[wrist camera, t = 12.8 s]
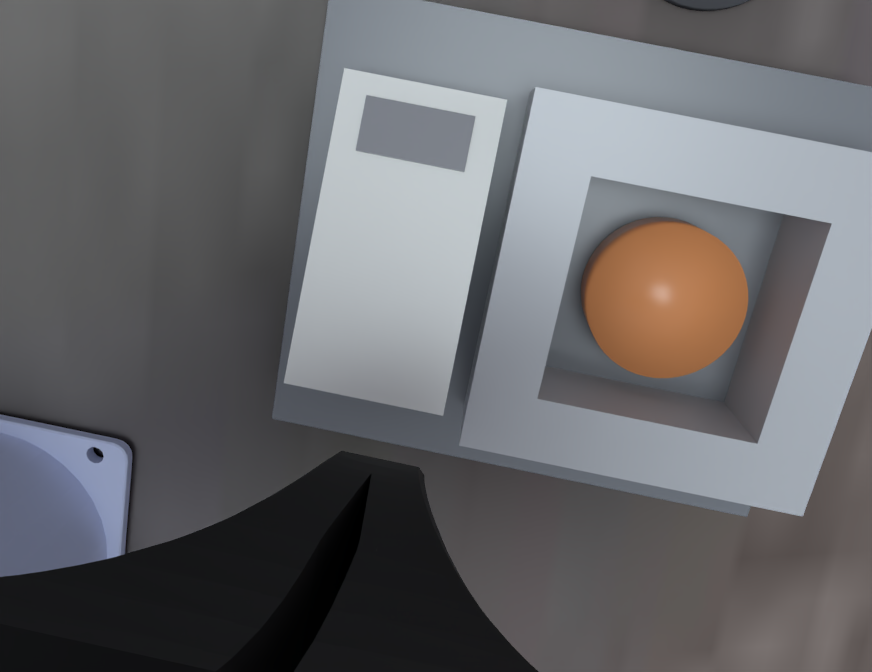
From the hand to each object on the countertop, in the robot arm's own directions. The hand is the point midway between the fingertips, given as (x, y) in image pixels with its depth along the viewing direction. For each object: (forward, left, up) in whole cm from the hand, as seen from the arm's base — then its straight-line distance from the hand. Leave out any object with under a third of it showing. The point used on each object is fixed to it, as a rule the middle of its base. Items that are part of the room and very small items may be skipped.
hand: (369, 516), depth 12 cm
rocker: (-1, +3, -7) cm, 8 cm away
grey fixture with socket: (+3, +3, -10) cm, 11 cm away
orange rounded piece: (+5, +3, -8) cm, 10 cm away
